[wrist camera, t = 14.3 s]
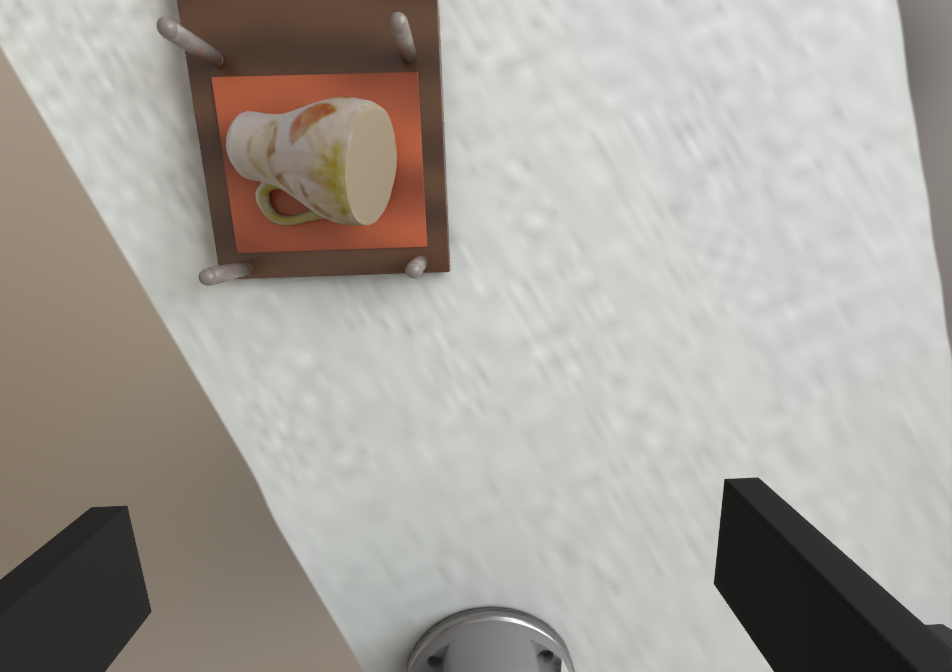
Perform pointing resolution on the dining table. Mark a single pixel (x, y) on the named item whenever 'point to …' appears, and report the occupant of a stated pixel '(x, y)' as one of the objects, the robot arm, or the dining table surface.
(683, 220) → the dining table surface
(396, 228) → the rack
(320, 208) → the mug
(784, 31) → the dining table surface
